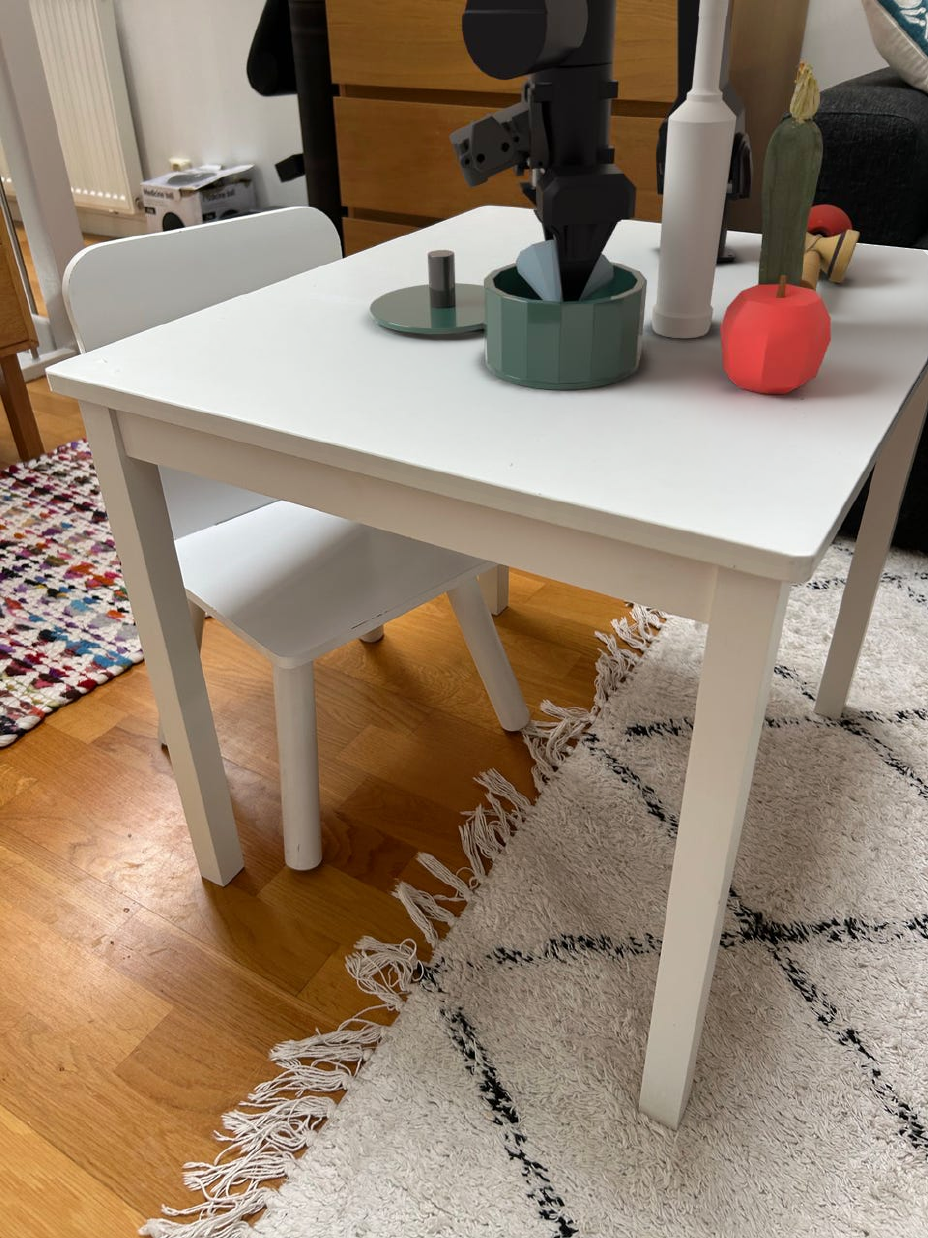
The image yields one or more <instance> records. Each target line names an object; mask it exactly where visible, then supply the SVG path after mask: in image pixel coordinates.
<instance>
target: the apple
mask: <svg viewBox="0 0 928 1238" xmlns="http://www.w3.org/2000/svg"><path fill="white" fill-rule="evenodd" d="M719 327H720V328H719V329H720V343H721V355H722V358H721V359H722V367H723V368H724V370H725V372H726V374H727V376H728V378H729V379H730V381H732V382H733V383H734V384H735V385H736V386H737V387H738V388H740V389H742V390H746V391H749V392H753V393H758V394H763V395H764V394H768V395H770V394H771V395H786V394H788V393H790V392H792V391H794V390H795V389H797V388H800V387H801V386H802V385H804V384H807V382H809V381H811V380H813V379H815V378H816V376H817V375H818V373H819V370H820V369H821V365H822V362H823V360H824V357H825V355H826V353H827V350H828V349H829V347H830V343H831V341H832V318H831V316H830V314H829V312H828V310H827V307H826V305H825V302H824V301H823V299H822V297H821V296H820V295H819V294H818V293H817V291H816V292H815V291H814V290H812V289H807V288H803V287H798V286H793V285H789V284H786V275H782V276H781V279H780V283H779V284H768V285H758V284H756V285H754V286H751V287H748V288H745V289H743V290H741V291H740V292H739V293H738V294H737V295H736V297H735V298H734V299H733V300H732V301H731V302H730V304H729V305H728V306H726V310H725V312H724V315H723V319H722V321H721V325H720V326H719Z"/></svg>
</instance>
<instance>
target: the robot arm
mask: <svg viewBox="0 0 928 1238" xmlns="http://www.w3.org/2000/svg"><path fill="white" fill-rule="evenodd" d="M676 5H677V6H676V10H677V12H676V16H677V17H676V19H677V20H676V25H677V26H676V27H677V28H676V29H677V31H676V34H677V35H676V37H677V38H676V39H677V41H676V43H677V44H676V46H677V48H676V50H677V52H676V53H677V54H676V55H677V56H676V57H677V61H676V62H677V92H676V93H677V95H676V97H675V99H674V101H673V102H672V105H671V106H670V108H669V109H668V112H667V113H666V116H665V117H664V119H663V121H662V123H661V125H660V126H659V129H658V139H657V144H656V150H655V165H656V166H655V167H656V171H655V172H656V192H657V195H659V196H663V195H664V180H665V165H666V150H667V135H668V120H669V116H670V115H671V114H673V113H674V112H675V111H676V110H677V109H678V108H679V107H680V106H681V105H682V104H683V103H684V102H685V101H686V100H687V93H688V92H690V91H691V90H692V87H693V77H694V67H695V57H696V47H697V36H698V26H699V8H700V0H676ZM616 17H617V0H466V3H465V7H464V12H463V13H462V16H461V31H462V37H463V42H464V45H465V48H466V51H467V53H468V55H469V57H470V59H471V61H472V62H473V63H474V65H475V66H476V67H477V68H478V69H479V70H480V72H482V73H484V74H485V75H487V76H489V77H490V78H492V79H496V80H500V81H510V80H514V79H517V78H521V77H525V76H526V77H525V82H521V100H520V102H518V103H515V104H513V105H510V106H508V107H506V108H503V109H500V110H498V111H495V112H493V113H491V112H488V113H486V116H485V117H482V118H479V119H478V120H474V119H473V120H471V121H470V122H469V124H467V125H465V126H463V127H461V128H458V129H456V130H454V131H453V132H452V133H450V134H449V135H448V137H449V140H450V143H451V145H452V148H453V151H454V153H455V157H456V159H457V161H458V164H459V168H460V170H461V172H462V175H463V178H464V181H465V183H466V186H467V187H468V188H473V187H479V186H480V185H482V184H485V183H486V182H488V181H489V178H491V177H493V176H496V175H498V174H500V173H502V172H504V171H506V170H509V169H512V172H513V174H514V175H515V177H524V176H525V171H526V170H528V174H529V175H528V179H529V181H521V182H520V181H519V182H518V187H519V188H520V190H521V192H522V193H523V195H524V196H525V197H526V198H527V199H528V200H529V201H530V202H531V203H532V205H533V206H535V207H536V208H535V209H533V210H532V211H533V214H534V215H535V217H536V219H537V220H538V221H539V223H540V224H541V227H542V233H543V239H544V241H548V240H554V243H555V250H556V258H557V265H558V272H559V279H560V286H561V292H562V299H563V302H570V301H579V299H580V297H581V295H582V293H583V291H584V289H585V286H586V284H587V282H588V280H589V278H590V276H591V274H592V272H593V270H594V268H595V266H596V263H597V261H598V260H599V258H600V256H601V253H602V254H603V252H604V250H605V248H606V246H607V244H608V242H609V240H610V238H611V236H612V234H613V232H614V230H615V229H616V227H617V225H618V223H620V222H622V221H626V220H627V221H629V220H631V219H634V218H635V217H636V216H635V215H636V201H637V189H638V187H636V185H635V184H634V183H633V181H631V180H630V179H629V178H628V176H627V175H626V174H625V173H624V172H623V171H622V170H621V169H620V168H619V167H618V166H617V165H616V164H615V156H616V154H615V153H616V148H615V147H614V146H613V145H612V144H611V143H610V133H611V131H610V130H611V114H612V113H611V111H612V99H613V100H614V99H619V81H618V80H617V79H616V78H613V75H614V74H613V73H614V57H615V55H614V54H615V35H616V19H617V18H616ZM731 17H732V0H729V2H728V11H727V16H726V22H725V32H724V41H723V50H722V60H721V69H720V79H719V90H720V91H721V92H722V93H723V94H722V100H723V101H724V102H725V104H726V105H727V106H728V107H729V108H730V110H731V111H732V112H733V113H734V114H735V116H736V124H735V131H734V138H733V146H732V153H731V160H730V167H729V175H728V182H727V189H726V196H725V203H724V211H723V218H722V225H721V232H720V239H719V247H718V254H717V261H716V263H722V262H735V260H736V255H735V254H734V253H733V252H731V250H729V248H727V247H726V245H727V244H726V243H727V235H728V227H729V219H730V211H731V204H732V202H738V201H739V200H744V199H750V198H751V197H752V191H753V183H754V163H753V154H752V149H751V144H750V143H751V142H750V137H749V134H748V133H746V115H745V114H746V109H745V106H744V104H743V103H742V100H741V99H740V98H739V96H738V94H737V93H736V91H735V89H734V87H733V85H732V84H731V82H730V75H729V74H730V71H729V70H730V51H731V50H730V47H731V45H730V44H731V21H732V20H731ZM730 182H731V183H730Z"/></svg>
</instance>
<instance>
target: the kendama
mask: <svg viewBox="0 0 928 1238" xmlns="http://www.w3.org/2000/svg"><path fill="white" fill-rule="evenodd" d="M859 238H860V232H859V231H856V230H853V225H852V222H851V220H850V218H849V216H848V215H847V214H846V212H845V211H843V210H842V209H841V208H839V207H838V206H835V205H831V204H818V205H814V206H811V211H810V215H809V221H808V227H807V234H806V240H805V247H804V262H803V273H802V279H801V284H800V287H803V288H807V289H812V290H814V291H815V292H816V293H817V287H818V286H817V285H818V281H819V275H820V270H822V271H823V272H824V274H826V277H827V278H828V280H829V281H830V282H832V283H837V284H842V283H843V282H844V279H845V277H846V274H847V271H848V269H849V266H850V263H851V261H852V257H853V255H854V252H855V249H856V247H857V243H858V240H859Z"/></svg>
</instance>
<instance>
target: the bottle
mask: <svg viewBox="0 0 928 1238" xmlns="http://www.w3.org/2000/svg"><path fill="white" fill-rule="evenodd" d="M728 2H729V0H700V8H699V26H698V36H697V47H696V57H695V67H694V77H693V87H692V90H691V91H690V92H688V93H687V100H686V101H685V102H684V103H683V104H682V105H681V106H680V107H679V108H678V109H677V110H676V111H675V112H674V113H673V114H671V115H670V116H669V120H668V135H667V150H666V165H665V180H664V195H662V196H663V198H662V212H661V226H660V227H661V229H660V243H659V244H660V245H659V255H658V256H659V258H658V272H657V273H658V274H657V286H656V287H657V288H656V302H655V303H654V305H653V307H652V312H651V324H652V330H653V331H654V332H655V333H656V334H657V335H660V336H663V337H667V338H672V339H695V338H699V337H703V336H705V335H706V334H708V333H709V331H710V328H711V325H712V321H713V314H714V307H713V306H712V305H711V303H712V297H713V296H712V295H713V290H714V283H715V282H714V281H715V276H716V275H715V274H716V268H717V262H716V261H717V254H718V247H719V239H720V232H721V225H722V218H723V211H724V203H725V196H726V189H727V182H728V175H729V167H730V160H731V153H732V146H733V138H734V131H735V124H736V116H735V114H734V113H733V112H732V111H731V110H730V108H729V107H728V106H727V105H726V104H725V102H724V101H723V100H722V94H723V93H722V92H721V91H720V90H719V79H720V69H721V60H722V50H723V41H724V32H725V22H726V16H727V11H728Z"/></svg>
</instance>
